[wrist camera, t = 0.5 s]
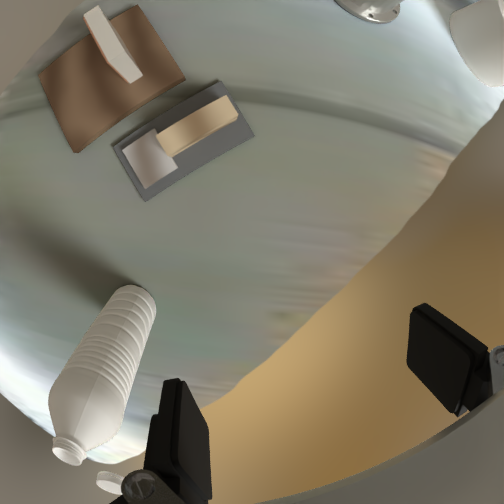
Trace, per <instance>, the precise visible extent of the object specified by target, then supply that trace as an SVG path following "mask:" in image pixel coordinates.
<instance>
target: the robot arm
mask: <svg viewBox="0 0 504 504" xmlns="http://www.w3.org/2000/svg"><path fill="white" fill-rule="evenodd" d="M335 1H336V2H337V3H338V4H339V5H340V6H342V7H343V8H344V9H345V10H347V11H348V12H350V13H351V14H353V15H354V16H356V17H358V18H360V19H363V20H365V21H368V22H371V23H377V24H385V23H389V22H391V21H393V20H394V19H395V18H396V17H397V16H398V15H399V13H400V3H401V2H402V1H403V0H335ZM487 350H488V347H487V346H486V345H484V344H483V343H482V342H480V341H479V340H478V339H476V338H475V337H474V336H472V335H471V334H469V333H468V332H467V331H465V330H464V329H462V328H461V327H460V326H458V325H457V324H455V323H454V322H453V321H451V320H450V319H448V318H447V317H446V316H444V315H443V314H441V313H440V312H439V311H437V310H436V309H434V308H433V307H431V306H430V305H428V304H426V303H423V304H421V305H418V306H416V307H414V308H413V310H412V312H411V314H410V324H409V339H408V350H407V365H408V367H409V368H410V370H411V371H412V372H413V373H414V374H415V375H416V376H417V377H418V378H419V379H420V380H421V381H422V383H423V384H424V385H425V386H426V387H427V388H428V389H429V390H430V391H431V392H432V393H433V395H434V396H435V397H436V398H437V399H438V400H439V401H440V402H441V403H442V404H443V406H444V407H445V408H446V409H447V410H448V411H449V412H450V413H454V414H455V415H456V416H457V417H459V416H460V415H462V414H463V413H465V412H466V411H467V409H468V410H469V411H470V412H469V413H468V414H466V415H465V416H463V417H462V418H461V419H459V420H458V421H456V422H455V423H453V424H452V425H450V426H449V427H447V428H445V429H444V430H442V431H441V432H439V433H437V434H436V435H434V436H433V437H431V438H429V439H427V440H426V441H424V442H422V443H420V444H419V445H417V446H415V447H413V448H412V449H409V450H407V451H406V452H404V453H402V454H400V455H398V456H396V457H394V458H392V459H390V460H387V461H385V462H383V463H381V464H379V465H377V466H374V467H372V468H370V469H368V470H365V471H363V472H360V473H358V474H355V475H353V476H350V477H347V478H345V479H342V480H339V481H337V482H334V483H331V484H328V485H325V486H322V487H319V488H316V489H312V490H309V491H305V492H302V493H298V494H295V495H291V496H287V497H283V498H279V499H274V500H270V501H265V502H261V503H256V504H504V345H501V346H497V347H495V348H494V349H493V350H491V352H490V353H489V352H488V351H487ZM209 449H210V448H209V429H208V426H207V423H206V421H205V419H204V417H203V416H202V414H201V412H200V410H199V408H198V406H197V404H196V402H195V400H194V398H193V396H192V394H191V392H190V390H189V388H188V386H187V384H186V382H185V381H181V380H180V379H179V378H175V379H169V380H165V381H164V382H163V388H162V393H161V399H160V405H159V412H158V414H154V415H153V416H152V418H151V423H150V428H149V434H148V441H147V447H146V453H145V461H144V467H143V469H140V470H136V471H133V472H131V473H129V474H128V475H127V476H126V477H125V478H124V479H123V481H122V483H121V493H122V495H121V496H120V497H118V498H117V499H115V500H114V501H113V502H111V503H110V504H208V500H211V499H212V484H211V469H210V450H209Z"/></svg>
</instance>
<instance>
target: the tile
mask: <svg viewBox="0 0 504 504" xmlns="http://www.w3.org/2000/svg"><path fill="white" fill-rule="evenodd" d="M83 19H84V21H85V23H86V25H87V27H88V29H89V30H90V32H91V34H92V36H93V38H94V40H95V42H96V44H97V45H98V47H99V49H100V51H101V53H102V55H103V57H104V58H105V60H106V62H107V63H108V64H109V65H110V66H111V67H112V68H113V69H114V70H115V71H116V72H117V73H118V74H119V75H120V76H121V77H122V78H123V79H124V80H125V81H126V82H127V83H130V84H131V83H132V82H134V81H135V80H137V79H139V78H140V77H142V76H143V74H142V72H141V71H140V69H139V67H138V66H137V64H136V62H135V61H134V59H133V57H132V56H131V54H130V52H129V51H128V49H127V47H126V45H125V44H124V42H123V40H122V39H121V37H120V35H119V34H118V32H117V31H116V29H115V28H114V27H113V25H112V24H111V22H110V21H109V20H108V18H107V17H106V15H105V14H104V13H103V11H102V10H101V8H100V7H99V6H96V7H95V8H93V9H91V10H90V11H88V12H87V13H85V14H84V17H83Z"/></svg>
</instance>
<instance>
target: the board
mask: <svg viewBox="0 0 504 504" xmlns="http://www.w3.org/2000/svg"><path fill="white" fill-rule="evenodd" d="M110 22H111V24H112V25H113V27H114V28H115V29H116V31H117V32H118V34H119V35H120V37H121V39H122V40H123V42H124V44H125V45H126V47H127V49H128V51H129V52H130V54H131V56H132V57H133V59H134V61H135V62H136V64H137V66H138V67H139V69H140V71H141V72H142V74H143V76H142V77H140V78H139V79H137V80H135V81H134V82H132V83H131V84H130V83H127V82H126V81H125V80H124V79H123V78H122V77H121V76H120V75H119V74H118V73H117V72H116V71H115V70H114V69H113V68H112V67H111V66H110V65H109V64H108V63H107V62H106V60H105V58H104V57H103V55H102V53H101V51H100V49H99V47H98V45H97V44H96V42H95V40H94V38H93V36H92V34H91V33H90V34H89V35H87V36H86V37H85V38H83V39H82V40H80V41H79V42H78V43H76V44H75V45H74V46H72V47H71V48H70V49H69V50H67V51H66V52H65V53H63V54H62V55H61V56H60V57H59V58H57V59H56V60H55V61H54V62H53V63H51V64H50V65H49V66H48V67H47V68H46V69H44V70H43V71H42V72H41V73H40V74H39V75H38V76H39V78H40V81H41V83H42V86H43V88H44V91H45V93H46V95H47V98H48V100H49V102H50V105H51V107H52V109H53V111H54V113H55V116H56V118H57V120H58V122H59V124H60V126H61V128H62V131H63V133H64V135H65V137H66V139H67V141H68V143H69V145H70V147H71V149H72V151H73V153H79V152H80V151H82V150H83V149H84V148H85V147H86V146H88V145H89V144H90V143H91V142H93V141H94V140H95V139H97V138H98V137H99V136H100V135H102V134H103V133H104V132H106V131H107V130H108V129H110V128H111V127H113V126H114V125H115V124H117V123H118V122H119V121H121V120H122V119H124V118H125V117H127V116H128V115H130V114H131V113H133V112H134V111H136V110H137V109H139V108H140V107H142V106H143V105H145V104H146V103H148V102H149V101H151V100H153V99H154V98H156V97H157V96H159V95H161V94H162V93H164V92H166V91H167V90H169V89H171V88H173V87H174V86H176V85H178V84H180V83H181V82H183V81H185V76H184V75H183V73H182V72H181V70H180V68H179V67H178V65H177V64H176V62H175V61H174V59H173V57H172V56H171V54H170V53H169V51H168V50H167V48H166V46H165V45H164V43H163V42H162V40H161V39H160V37H159V36H158V34H157V33H156V31H155V30H154V28H153V27H152V25H151V24H150V22H149V21H148V19H147V18H146V16H145V15H144V13H143V12H142V10H141V9H140V7H139V6H138V5H136V6H134V7H132V8H130V9H128V10H127V11H125V12H123V13H122V14H120V15H118V16H116V17H115V18H113V19H112V20H110Z"/></svg>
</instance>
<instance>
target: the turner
mask: <svg viewBox="0 0 504 504" xmlns="http://www.w3.org/2000/svg"><path fill="white" fill-rule="evenodd" d="M237 117H238V113H237V111H236V110H235V108H234V106H233V105H232V103H231V102H230V100H229V98H228V97H227V95H225V96H223V97H221V98H219V99H217V100H215V101H214V102H212V103H210V104H208V105H206V106H204V107H202V108H201V109H199V110H197V111H195V112H194V113H192V114H190V115H188V116H187V117H185V118H183V119H181V120H180V121H178V122H176V123H175V124H173V125H172V126H170V127H168V128H167V129H165V130H163V131H162V132H160V133H159V134H158V133H157V131H156V129H153V130H151V131H149V132H148V133H146V134H145V135H143V136H142V137H140V138H139V139H137V140H136V141H135V142H133V143H132V144H130V145H129V146H127V147H126V148H125V149H123V150H122V151H123V153H124V154H125V156H126V158H127V159H128V161H129V163H130V165H131V166H132V168H133V170H134V172H135V173H136V175H137V177H138V178H139V180H140V182H141V183H142V185H143V187H144V188H145V189H146V188H148V187H149V186H151V185H152V184H154V183H155V182H157V181H158V180H160V179H162V178H163V177H165V176H166V175H168V174H169V173H171V172H172V171H174V170H176V169H177V168H178V166H177V165H176V163H175V161H174V160H173V158H172V157H174V156H175V155H177V154H178V153H180V152H182V151H183V150H185V149H187V148H188V147H190V146H192V145H193V144H195V143H197V142H198V141H200V140H202V139H203V138H205V137H207V136H209V135H210V134H212V133H214V132H216V131H218V130H219V129H221V128H223V127H225V126H227V125H229V124H230V123H232V122H234V121H236V119H237Z"/></svg>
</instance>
